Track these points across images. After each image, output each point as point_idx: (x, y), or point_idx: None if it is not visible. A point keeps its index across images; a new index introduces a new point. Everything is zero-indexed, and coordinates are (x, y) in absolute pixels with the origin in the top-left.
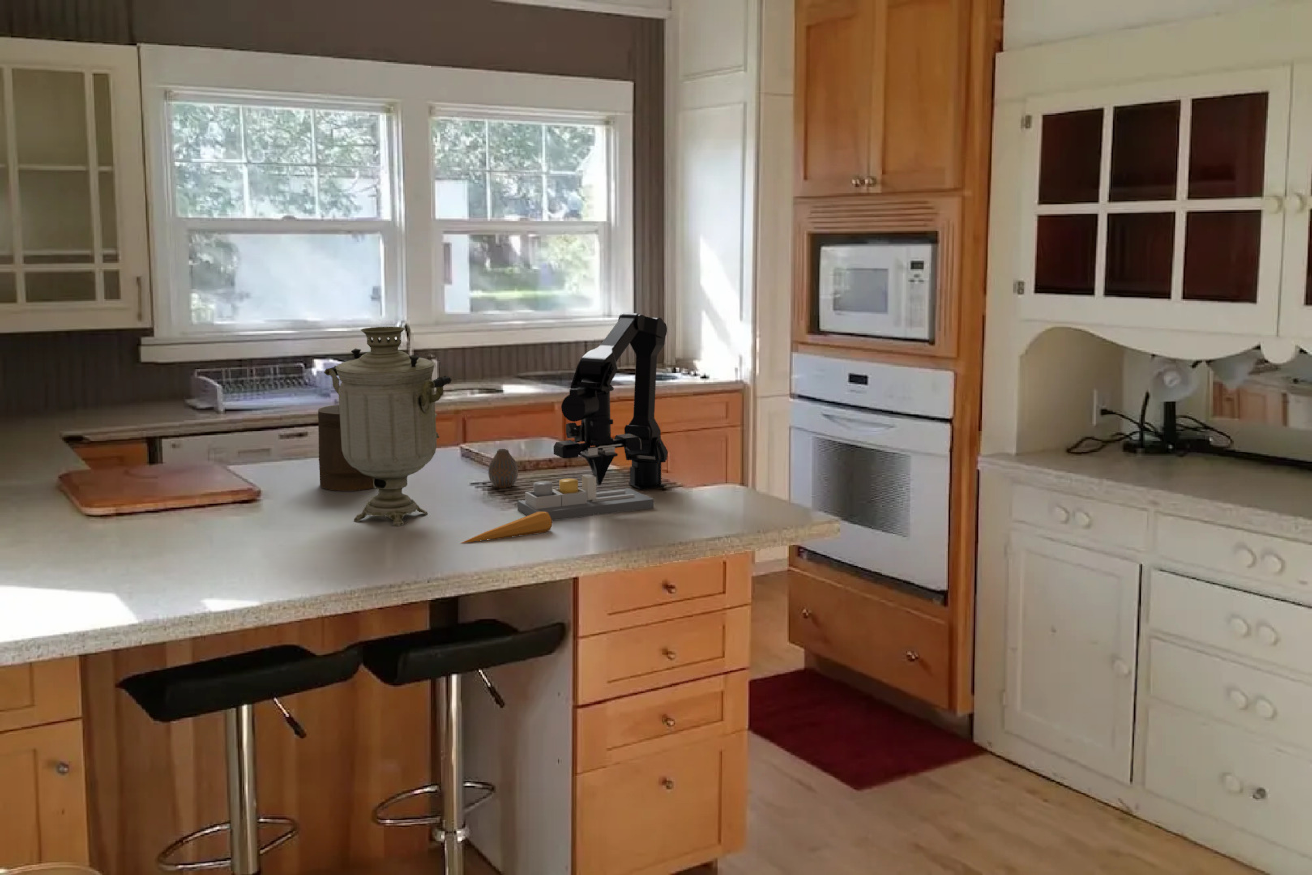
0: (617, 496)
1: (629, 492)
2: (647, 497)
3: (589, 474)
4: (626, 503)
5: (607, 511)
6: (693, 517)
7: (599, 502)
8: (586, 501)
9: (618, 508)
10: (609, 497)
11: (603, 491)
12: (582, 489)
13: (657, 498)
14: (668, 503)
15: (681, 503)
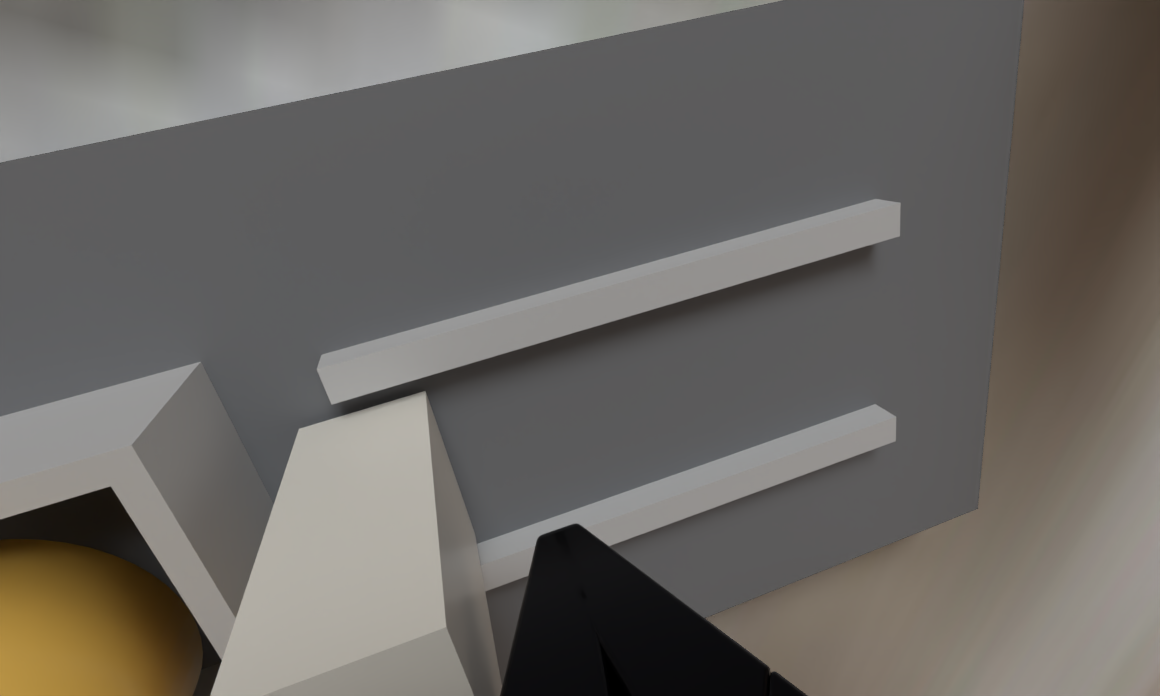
0: (719, 503)
1: (925, 208)
2: (964, 451)
3: (421, 635)
4: (734, 594)
5: None
6: (990, 681)
7: (491, 608)
8: None
9: None
10: (627, 537)
11: (672, 55)
12: (282, 507)
13: (1097, 139)
14: (1066, 338)
15: (1130, 353)
